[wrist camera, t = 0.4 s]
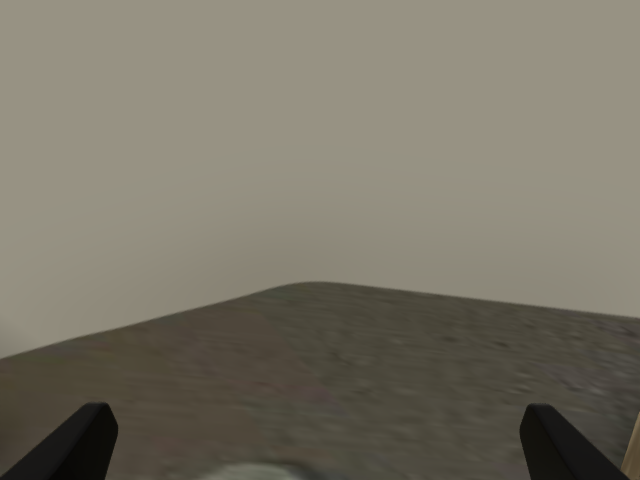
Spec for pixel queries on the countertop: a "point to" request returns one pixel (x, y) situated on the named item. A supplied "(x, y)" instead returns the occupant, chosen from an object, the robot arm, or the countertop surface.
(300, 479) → the countertop surface
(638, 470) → the birch block
